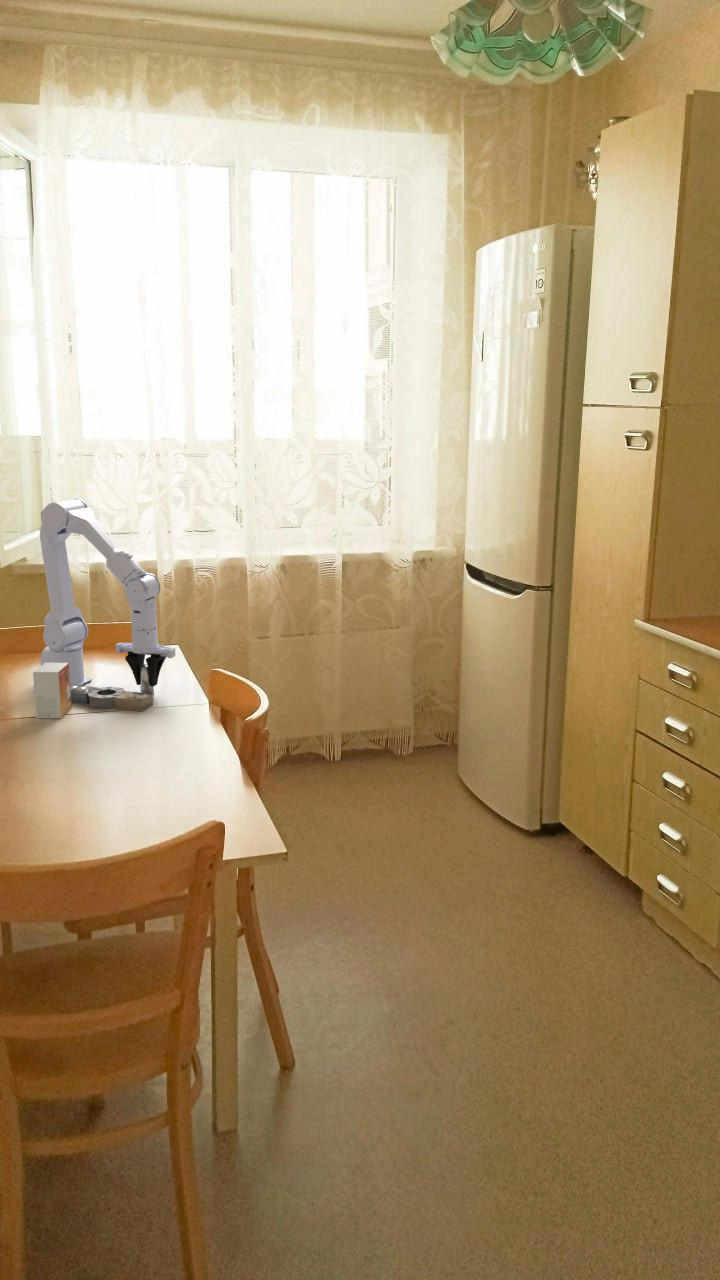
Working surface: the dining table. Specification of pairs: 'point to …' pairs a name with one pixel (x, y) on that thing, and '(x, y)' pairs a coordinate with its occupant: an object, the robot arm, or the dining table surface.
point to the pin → (145, 680)
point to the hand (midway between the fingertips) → (146, 684)
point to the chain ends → (110, 698)
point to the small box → (52, 690)
